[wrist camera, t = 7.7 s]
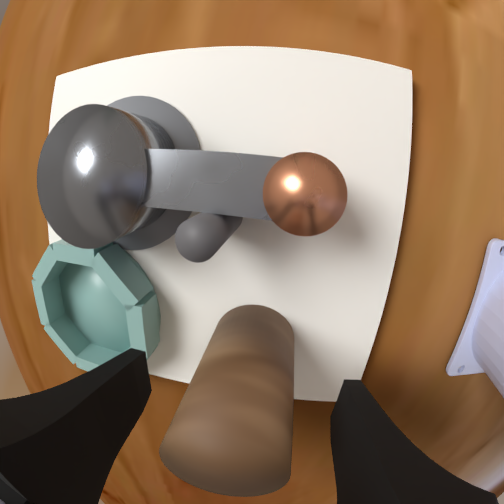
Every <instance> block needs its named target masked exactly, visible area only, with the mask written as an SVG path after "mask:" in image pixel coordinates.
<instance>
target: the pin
mask: <svg viewBox="0 0 504 504" xmlns="http://www.w3.org/2000/svg"><path fill="white" fill-rule="evenodd" d="M293 407H294V333H293V330H292V327H291V325H290V324H289V322H288V321H287V320H286V318H285V317H284V316H283V315H281V314H280V313H279V312H277V311H275V310H273V309H271V308H269V307H266V306H262V305H253V304H251V305H242V306H239V307H236V308H233V309H231V310H230V311H228V312H227V313H226V314H224V315H223V317H222V318H221V319H220V321H219V322H218V324H217V326H216V329H215V331H214V333H213V335H212V337H211V339H210V341H209V343H208V346H207V348H206V350H205V352H204V354H203V356H202V358H201V360H200V363H199V365H198V367H197V369H196V371H195V373H194V375H193V377H192V379H191V382H190V384H189V386H188V388H187V390H186V392H185V394H184V396H183V399H182V401H181V403H180V405H179V407H178V409H177V411H176V413H175V416H174V418H173V420H172V422H171V424H170V426H169V428H168V430H167V433H166V435H165V437H164V439H163V441H162V443H161V445H160V448H159V454H160V457H161V460H162V462H163V463H164V465H165V466H166V467H167V468H168V469H169V470H170V471H171V472H172V473H173V474H175V475H176V476H177V477H179V478H180V479H182V480H183V481H185V482H187V483H189V484H191V485H193V486H195V487H198V488H200V489H203V490H206V491H209V492H213V493H217V494H222V495H228V496H240V497H248V496H259V495H265V494H268V493H272V492H274V491H277V490H278V489H280V488H282V487H283V486H285V485H286V483H287V482H288V481H289V479H290V475H291V457H292V436H293Z"/></svg>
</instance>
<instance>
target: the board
mask: <svg viewBox="0 0 504 504" xmlns="http://www.w3.org/2000/svg"><path fill="white" fill-rule="evenodd" d="M87 104H101V105H105V106H109V107H113V108H116V109H120V110H123V111H127V112H130V113H134V114H137V115H140V116H144V117H147V118H149V119H151V120H153V121H155V122H156V123H158V124H159V125H160V126H161V127H162V128H163V129H164V130H165V131H166V132H167V133H168V135H169V136H170V138H171V140H172V142H173V144H174V146H175V149H178V150H202V151H219V152H233V153H245V154H256V155H266V156H275V157H285V156H287V155H290V154H293V153H298V152H312V153H316V154H319V155H322V156H324V157H326V158H327V159H329V160H330V161H332V162H333V163H334V164H335V165H336V166H337V167H338V169H339V170H340V172H341V173H342V175H343V177H344V179H345V182H346V186H347V204H346V207H345V210H344V213H343V214H342V216H341V218H340V219H339V221H338V222H337V223H336V224H335V225H334V226H333V227H332V228H330V229H329V230H327V231H325V232H323V233H321V234H318V235H314V236H297V235H293V234H290V233H288V232H286V231H284V230H282V229H281V228H279V227H278V226H277V225H276V224H275V223H274V222H273V221H270V220H262V219H254V218H246V217H238V216H229V215H221V214H212V213H203V212H193V211H184V210H174V209H166V211H165V212H164V213H163V214H162V216H161V217H160V218H159V219H157V220H156V221H155V222H154V223H152V224H150V225H149V226H147V227H144V228H142V229H140V230H138V231H135V232H133V233H131V234H129V235H126V236H124V237H122V238H120V239H118V240H115V241H113V245H114V244H116V243H118V245H119V246H120V247H121V248H122V249H124V250H125V251H127V252H128V253H129V254H130V255H131V256H132V257H133V258H134V259H135V260H136V261H137V262H138V264H139V265H140V266H141V268H142V269H143V270H144V272H145V273H146V275H147V276H148V278H149V280H150V282H151V284H152V286H153V287H154V291H155V293H156V295H157V299H158V303H159V308H160V315H161V324H160V331H159V336H160V342H159V343H158V346H157V348H156V349H155V350H154V352H153V353H152V354H151V356H150V357H149V359H148V360H147V365H148V372H149V374H152V375H156V376H160V377H164V378H168V379H172V380H176V381H181V382H185V383H190V382H191V379H192V377H193V375H194V373H195V371H196V369H197V367H198V365H199V363H200V360H201V358H202V356H203V354H204V352H205V350H206V348H207V346H208V343H209V341H210V339H211V337H212V335H213V333H214V331H215V329H216V326H217V324H218V322H219V321H220V319H221V318H222V317H223V315H224V314H226V313H227V312H228V311H230V310H231V309H233V308H236V307H239V306H242V305H251V304H253V305H262V306H266V307H269V308H271V309H273V310H275V311H277V312H279V313H280V314H281V315H283V316H284V317H285V318H286V320H287V321H288V322H289V324H290V325H291V327H292V330H293V333H294V399H299V400H313V401H333V402H336V401H337V398H338V395H339V393H340V390H341V387H342V384H343V381H344V379H350V380H361V378H362V375H363V372H364V369H365V367H366V364H367V361H368V358H369V355H370V352H371V349H372V346H373V343H374V340H375V336H376V333H377V330H378V326H379V323H380V320H381V316H382V313H383V309H384V305H385V301H386V298H387V294H388V290H389V286H390V281H391V277H392V273H393V268H394V264H395V259H396V254H397V249H398V244H399V238H400V233H401V227H402V221H403V214H404V208H405V200H406V193H407V184H408V175H409V164H410V152H411V135H412V70H408V69H405V68H401V67H398V66H394V65H390V64H386V63H382V62H378V61H373V60H369V59H364V58H359V57H354V56H348V55H343V54H336V53H330V52H323V51H315V50H306V49H295V48H282V47H261V46H225V47H204V48H190V49H180V50H171V51H163V52H156V53H149V54H143V55H138V56H132V57H127V58H122V59H117V60H113V61H108V62H104V63H100V64H96V65H92V66H89V67H85V68H81V69H78V70H75V71H71V72H68V73H65V74H62V75H59V76H57V77H56V83H55V88H54V94H53V101H52V108H51V116H50V126H49V133H50V131H51V130H52V128H53V127H54V126H55V124H56V123H57V122H58V121H59V120H60V119H61V118H62V117H63V116H64V115H66V114H67V113H68V112H70V111H71V110H73V109H75V108H77V107H80V106H83V105H87ZM48 231H49V242H50V244H52V243H54V242H56V241H59V240H62V238H60V237H59V236H58V235H57V234H56V233H55V231H54V230H53V229H52V228H51V226H50V225H49V223H48Z"/></svg>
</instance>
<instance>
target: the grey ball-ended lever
mask: <svg viewBox="0 0 504 504" xmlns="http://www.w3.org/2000/svg"><path fill="white" fill-rule="evenodd" d="M37 189H38V196H39V201H40V204H41V208H42V211H43V213H44V215H45V218H46V219H47V221H48V223H49V225H50V226H51V228H52V229H53V230H54V231H55V233H56V234H57V235H58V236H59V237H60V238H62V239H63V240H64V241H66V242H67V243H69V244H71V245H73V246H75V247H78V248H82V249H95V248H99V247H103V246H105V245H107V244H109V243H111V242H113V241H115V240H118V239H120V238H122V237H124V236H126V235H129V234H131V233H133V232H135V231H138V230H140V229H142V228H144V227H147V226H149V225H150V224H152V223H154V222H155V221H156V220H157V219H159V218H160V217H161V216H162V214H163V213H164V212H165V211H166V209H174V210H184V211H193V212H203V213H212V214H221V215H229V216H238V217H246V218H254V219H262V220H270V221H273V222H274V223H275V224H276V225H277V226H278V227H279V228H281V229H282V230H284V231H286V232H288V233H290V234H293V235H297V236H314V235H318V234H321V233H323V232H325V231H327V230H329V229H330V228H332V227H333V226H334V225H335V224H336V223H337V222H338V221H339V219H340V218H341V216H342V214H343V213H344V210H345V207H346V204H347V186H346V182H345V179H344V177H343V175H342V173H341V172H340V170H339V169H338V167H337V166H336V165H335V164H334V163H333V162H332V161H330V160H329V159H327V158H326V157H324V156H322V155H319V154H316V153H312V152H298V153H293V154H290V155H287V156H285V157H275V156H266V155H256V154H245V153H233V152H219V151H202V150H178V149H175V146H174V144H173V142H172V140H171V138H170V136H169V135H168V133H167V132H166V131H165V130H164V129H163V128H162V127H161V126H160V125H159V124H158V123H156V122H155V121H153V120H151V119H149V118H147V117H144V116H140V115H137V114H134V113H130V112H127V111H123V110H120V109H116V108H113V107H109V106H105V105H101V104H87V105H83V106H80V107H77V108H75V109H73V110H71V111H70V112H68V113H67V114H66V115H64V116H63V117H62V118H61V119H60V120H59V121H58V122H57V123H56V124H55V126H54V127H53V128H52V130H51V131H50V133H49V135H48V136H47V138H46V141H45V143H44V145H43V148H42V151H41V154H40V158H39V163H38V169H37Z"/></svg>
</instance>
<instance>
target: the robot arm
mask: <svg viewBox="0 0 504 504" xmlns="http://www.w3.org/2000/svg"><path fill="white" fill-rule="evenodd" d="M501 247H502V251H501V252H500V249H501ZM459 367H460V368H459ZM446 372H447V374H448V375H449V376H457V375H467V374H476V373H484V372H485V373H486V374H487V376H488V377H489V378H490V380H491V381H492V382H493V384H494V385H495V387H496V388H497V389H498V391H499V392H500V394H501V395H502V397H503V398H504V240H501V239H496V238H494V239H492V240H490V242H489V243H488V246H487V250H486V254H485V258H484V262H483V266H482V270H481V274H480V278H479V281H478V285H477V288H476V291H475V295H474V298H473V301H472V304H471V307H470V310H469V313H468V316H467V318H466V321H465V324H464V326H463V329H462V332H461V334H460V337H459V339H458V342H457V344H456V346H455V349H454V351H453V353H452V356H451V358H450V360H449V362H448V364H447V367H446ZM151 391H152V390H151V384H150V378H149V372H148V365H147V359H146V351H142V350H138V349H134V348H130V349H128V350H126V351H124V352H123V353H121V354H119V355H117V356H116V357H114V358H112V359H110V360H109V361H107V362H105V363H103V364H101V365H100V366H98V367H96V368H94V369H92V370H90V371H88V372H87V373H84V374H82V375H80V376H78V377H76V378H74V379H72V380H70V381H68V382H66V383H63V384H61V385H58V386H56V387H53V388H50V389H47V390H44V391H41V392H38V393H34V394H30V395H25V396H21V397H17V398H11V399H3V400H0V504H98V502H99V499H100V496H101V493H102V490H103V487H104V485H105V482H106V479H107V477H108V474H109V472H110V470H111V467H112V465H113V462H114V460H115V458H116V456H117V454H118V453H119V451H120V449H121V447H122V446H123V444H124V442H125V441H126V439H127V437H128V436H129V434H130V432H131V431H132V429H133V428H134V426H135V424H136V422H137V421H138V419H139V417H140V416H141V414H142V412H143V410H144V408H145V406H146V403H147V401H148V398H149V396H150V393H151ZM330 430H331V447H332V455H333V463H334V471H335V479H336V487H337V504H499V503H498V501H497V498H496V495H495V494H493V493H491V492H488V491H486V490H483V489H481V488H478V487H476V486H473V485H471V484H469V483H467V482H465V481H464V480H462V479H460V478H458V477H456V476H455V475H453V474H451V473H450V472H448V471H447V470H445V469H444V468H442V467H441V466H439V465H438V464H437V463H435V462H434V461H433V460H431V459H430V458H429V457H428V456H426V455H425V454H424V453H423V452H422V451H421V450H420V449H418V448H417V447H416V446H415V445H414V444H413V443H412V442H411V441H410V440H409V439H408V438H407V437H406V436H405V435H404V434H403V433H402V432H401V431H400V430H399V428H398V427H397V426H396V425H395V424H394V423H393V422H392V420H391V419H390V418H389V417H388V415H387V414H386V413H385V412H384V411H383V409H382V408H381V407H380V405H379V404H378V403H377V401H376V400H375V399H374V397H373V396H372V395H371V393H370V392H369V391H368V389H367V388H366V387H365V385H364V384H363V383H362V381H361V380H350V379H344V381H343V384H342V387H341V390H340V393H339V395H338V398H337V401H336V404H335V406H334V409H333V412H332V414H331V428H330Z"/></svg>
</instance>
